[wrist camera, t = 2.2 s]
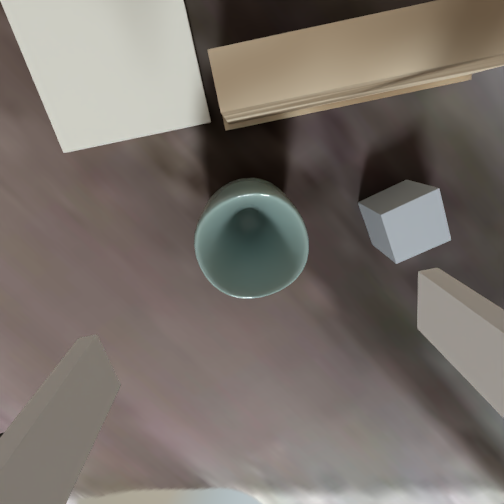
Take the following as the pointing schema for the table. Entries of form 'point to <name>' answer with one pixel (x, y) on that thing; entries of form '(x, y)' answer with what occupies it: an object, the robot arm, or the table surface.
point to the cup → (250, 239)
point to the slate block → (405, 219)
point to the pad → (110, 67)
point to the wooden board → (357, 60)
